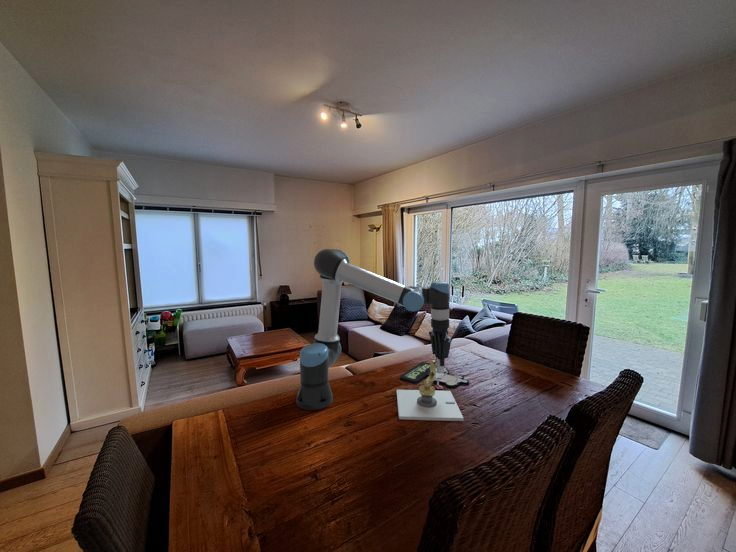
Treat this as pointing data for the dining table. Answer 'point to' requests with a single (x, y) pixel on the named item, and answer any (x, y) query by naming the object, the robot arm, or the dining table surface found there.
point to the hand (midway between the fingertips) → (440, 372)
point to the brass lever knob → (429, 381)
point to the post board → (427, 406)
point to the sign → (444, 378)
